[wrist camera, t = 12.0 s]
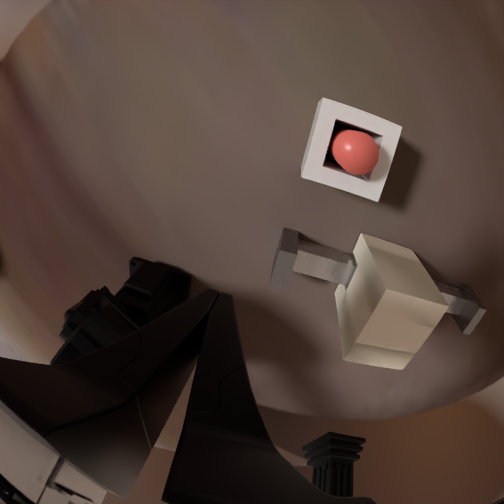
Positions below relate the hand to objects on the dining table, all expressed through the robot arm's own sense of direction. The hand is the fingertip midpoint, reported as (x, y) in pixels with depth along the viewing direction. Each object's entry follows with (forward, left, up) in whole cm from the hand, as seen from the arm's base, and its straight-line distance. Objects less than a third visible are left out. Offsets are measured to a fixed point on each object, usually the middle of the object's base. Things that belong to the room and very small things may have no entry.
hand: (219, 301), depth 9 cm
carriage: (-4, -10, -13) cm, 17 cm away
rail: (-4, -12, -13) cm, 18 cm away
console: (+5, -4, -13) cm, 15 cm away
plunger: (+5, -4, -13) cm, 14 cm away
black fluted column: (-37, -22, -13) cm, 45 cm away
